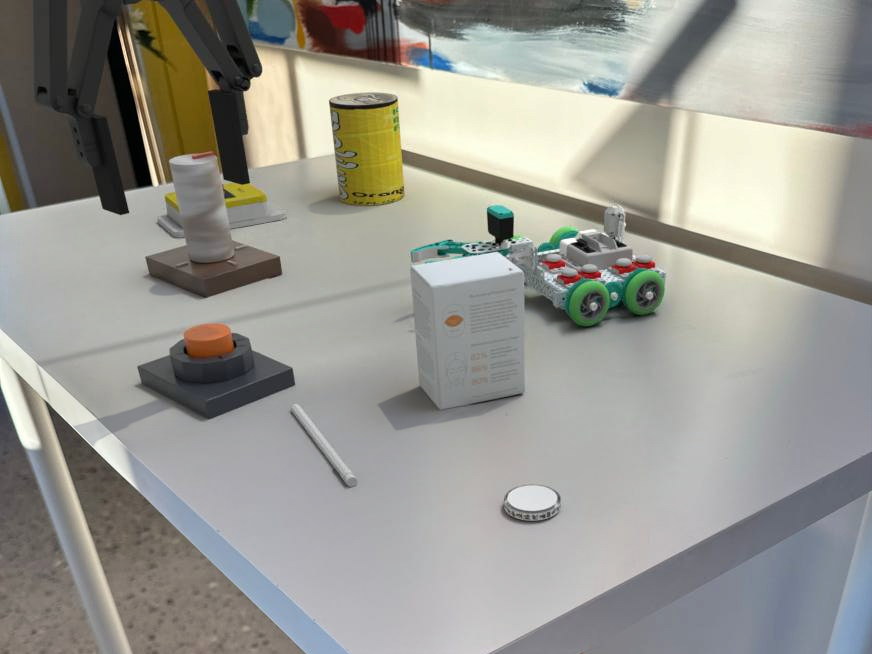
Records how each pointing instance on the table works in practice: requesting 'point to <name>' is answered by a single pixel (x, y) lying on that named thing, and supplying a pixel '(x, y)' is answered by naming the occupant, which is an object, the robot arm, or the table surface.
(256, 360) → the button housing
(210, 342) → the push knob
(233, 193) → the yellow box on plate
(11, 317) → the table surface
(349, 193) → the beverage can
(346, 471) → the white rod
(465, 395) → the small box
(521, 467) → the table surface
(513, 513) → the white flat disc
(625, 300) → the robot kit
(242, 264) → the dial panel
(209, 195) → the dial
